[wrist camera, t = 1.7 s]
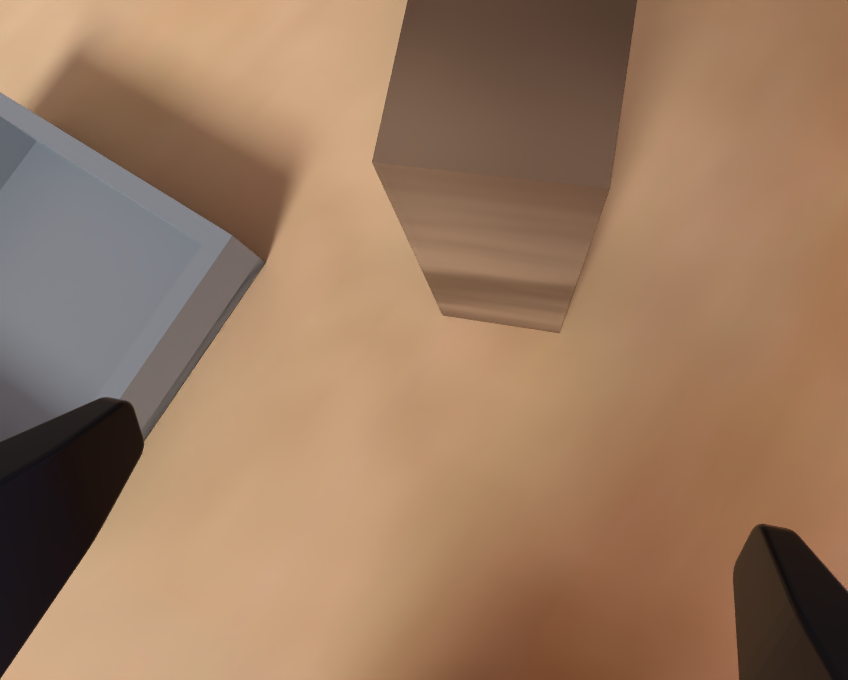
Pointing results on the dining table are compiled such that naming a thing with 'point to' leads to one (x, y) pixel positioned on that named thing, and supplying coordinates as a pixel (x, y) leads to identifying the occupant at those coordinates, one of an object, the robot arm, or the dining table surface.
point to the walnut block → (504, 147)
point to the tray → (100, 280)
